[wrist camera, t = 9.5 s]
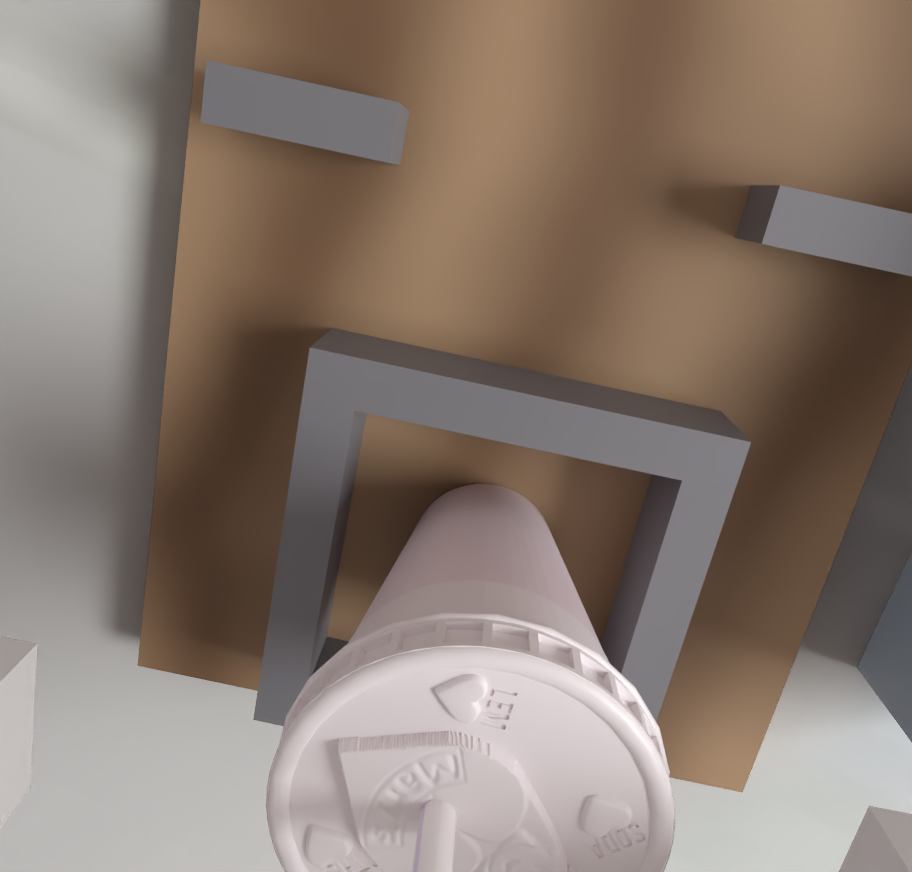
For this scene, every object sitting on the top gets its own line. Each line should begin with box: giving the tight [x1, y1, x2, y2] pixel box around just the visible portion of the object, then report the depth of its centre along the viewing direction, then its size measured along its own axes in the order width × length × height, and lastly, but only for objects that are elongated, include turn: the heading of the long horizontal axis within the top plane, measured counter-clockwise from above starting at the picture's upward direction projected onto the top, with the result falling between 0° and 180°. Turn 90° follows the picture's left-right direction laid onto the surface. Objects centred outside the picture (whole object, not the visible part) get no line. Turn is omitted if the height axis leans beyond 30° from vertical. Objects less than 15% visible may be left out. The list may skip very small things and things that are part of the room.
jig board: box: [138, 0, 912, 792], centre depth 19 cm, size 18×28×1 cm, turn 168°
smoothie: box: [266, 484, 675, 872], centre depth 15 cm, size 6×6×14 cm
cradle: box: [254, 328, 751, 726], centre depth 20 cm, size 10×10×2 cm
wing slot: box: [200, 60, 912, 276], centre depth 16 cm, size 16×8×2 cm, turn 78°
